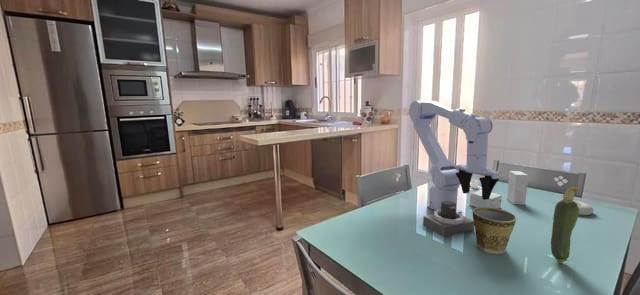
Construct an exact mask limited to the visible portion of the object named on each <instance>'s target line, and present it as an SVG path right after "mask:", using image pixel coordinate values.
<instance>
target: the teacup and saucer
mask: <svg viewBox="0 0 640 295" xmlns="http://www.w3.org/2000/svg"><path fill="white" fill-rule="evenodd" d="M479 183H480V180H479V179H471V182H470V191H473V190H474V191H475V192H476V191H480V190H481V188H482V186H479ZM479 187H480V189H478V188H479ZM473 188H474V189H473Z"/></svg>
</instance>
